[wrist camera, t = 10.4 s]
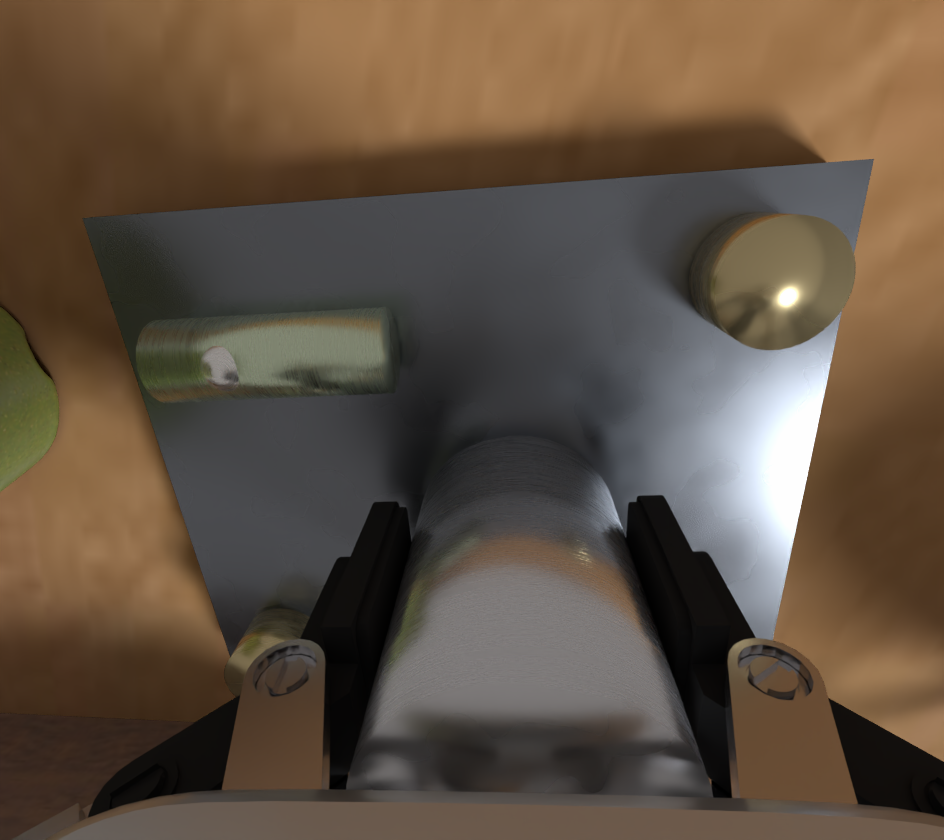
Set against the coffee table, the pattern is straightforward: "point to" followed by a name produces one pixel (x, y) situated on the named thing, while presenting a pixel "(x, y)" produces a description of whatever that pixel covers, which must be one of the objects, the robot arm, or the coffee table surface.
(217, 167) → the coffee table surface
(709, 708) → the robot arm
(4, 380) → the plant pot
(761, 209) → the base
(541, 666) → the silver cylinder
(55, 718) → the tissue box cover
